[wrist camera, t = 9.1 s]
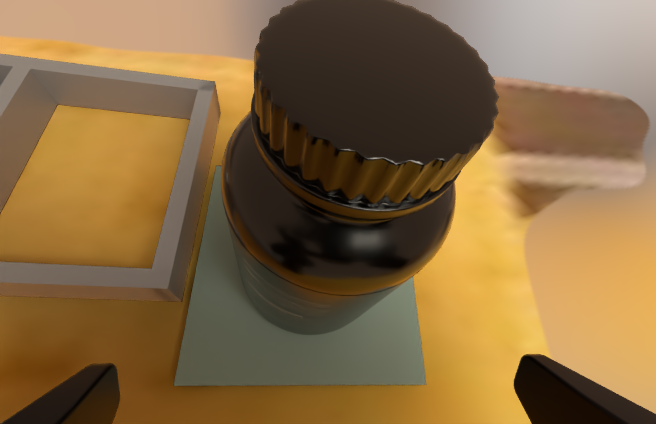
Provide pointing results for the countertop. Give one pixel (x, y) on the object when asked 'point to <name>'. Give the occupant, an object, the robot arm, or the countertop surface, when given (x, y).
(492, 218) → the countertop surface
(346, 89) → the supplement bottle
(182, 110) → the parts organiser
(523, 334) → the countertop surface
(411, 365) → the rubber mat
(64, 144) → the countertop surface
